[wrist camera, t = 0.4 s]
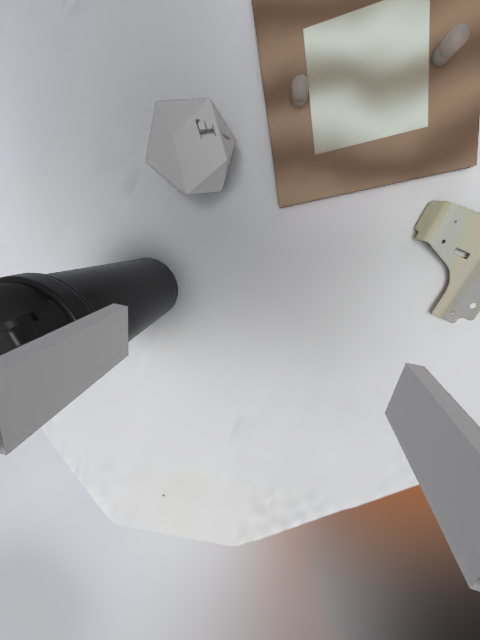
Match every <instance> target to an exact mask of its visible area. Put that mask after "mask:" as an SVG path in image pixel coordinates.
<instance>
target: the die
mask: <svg viewBox="0 0 480 640" xmlns="http://www.w3.org/2000/svg"><path fill="white" fill-rule="evenodd" d="M235 143H236V139H235V137H234V135H233V134H232V132H231V131H230V129H229V128H228V127H227V124H226V123H225V121H224V120H223V118H222V116H221V115H220V113H219V112H218V110H217V108H216V107H215V105H214V104H213V102H212V100H211V99H210V98H198V99H182V100H166V101H156V104H155V110H154V115H153V121H152V127H151V132H150V138H149V144H148V149H147V155H146V161H145V162H146V163H147V164H148V165H150V166H151V167H152V168H153V169H154V170H155V171H156V172H158V173H159V174H160V175H161V176H162V177H163V178H164V179H166V180H167V181H168V182H169V183H170V184H171V185H172V186H174V187H175V188H176V189H177V190H178V191H179V192H181V193H183V194H186V195H192V194H201V193H209V192H218V191H222V190H223V186H224V182H225V179H226V175H227V172H228V168H229V165H230V161H231V158H232V154H233V150H234V147H235Z"/></svg>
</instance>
